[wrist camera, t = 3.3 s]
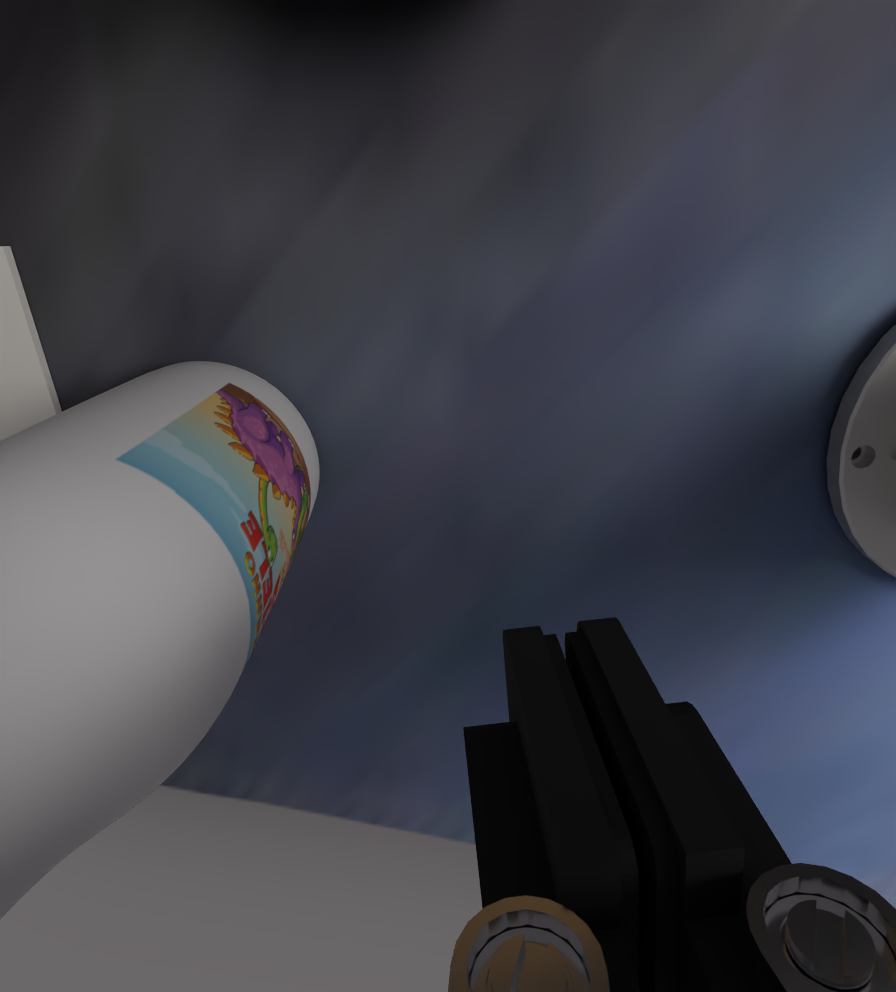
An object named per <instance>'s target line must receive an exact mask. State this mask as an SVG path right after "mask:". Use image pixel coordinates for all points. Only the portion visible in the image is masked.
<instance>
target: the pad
mask: <svg viewBox="0 0 896 992" xmlns="http://www.w3.org/2000/svg"><path fill="white" fill-rule="evenodd" d="M60 412H62V410H61V407H60V404H59V400H58V397H57V394H56V391H55V388H54V384H53V381H52V378H51V375H50V372H49V368H48V365H47V362H46V359H45V356H44V353H43V349H42V346H41V343H40V340H39V337H38V333H37V330H36V327H35V324H34V321H33V317H32V314H31V311H30V308H29V305H28V302H27V298H26V295H25V292H24V289H23V286H22V282H21V279H20V276H19V273H18V270H17V266H16V263H15V260H14V257H13V254H12V251H11V247H10V246H2V247H0V441H2V440H4V439H6V438H8V437H10V436H12V435H14V434H16V433H18V432H21V431H23V430H25V429H27V428H29V427H31V426H33V425H35V424H37V423H39V422H42V421H44V420H46V419H48V418H50V417H52V416H54V415H56V414H58V413H60Z"/></svg>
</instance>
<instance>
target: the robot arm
mask: <svg viewBox="0 0 896 992" xmlns="http://www.w3.org/2000/svg"><path fill="white" fill-rule="evenodd" d="M827 484H828V492H829V495H830V499H831V503H832V507H833V510H834V514H835V516H836V518H837V520H838V522H839V524H840V526H841V527H842V529H843V531H844V533H845V535H846V537H847V538H848V539H849V540H850V541H851V542H852V543H853V544H854V546H855V547H856V548H857V549H858V550H859V551H860V552H861V553H862V554H863V555H864V556H865V557H866V558H868V559H869V560H871V561H872V562H873V563H875V564H876V565H878V566H879V567H880V568H882V569H883V570H884V571H886V572H887V573H889V574H891V575H893V576H894V577H896V324H895V325H894V326H893V327H892V328H891V329H890V330H889V331H888V332H887V333H886V334H885V335H884V336H883V337H882V338H881V339H880V341H879V342H878V343H877V345H876V346H875V347H874V348H873V350H872V351H871V352H870V354H869V355H868V356H867V357H866V359H865V360H864V361H863V363H862V364H861V365H860V367H859V368H858V370H857V372H856V374H855V376H854V378H853V379H852V381H851V383H850V385H849V387H848V388H847V390H846V392H845V394H844V396H843V398H842V401H841V403H840V406H839V409H838V412H837V415H836V418H835V420H834V423H833V426H832V429H831V435H830V441H829V448H828V454H827ZM503 646H504V658H505V671H506V683H507V696H508V708H509V721H510V722H505V723H497V724H488V725H479V726H470V727H463V729H464V739H465V748H466V758H467V767H468V776H469V786H470V795H471V804H472V814H473V823H474V832H475V842H476V851H477V860H478V870H479V879H480V889H481V897H482V907H483V909H482V910H481V911H480V912H479V913H478V914H477V915H476V916H474V917H473V918H472V919H471V920H470V921H469V922H468V923H467V925H466V926H465V928H464V930H463V931H462V933H461V935H460V936H459V938H458V940H457V941H456V945H455V949H454V954H453V957H452V961H451V966H450V977H449V989H448V992H896V909H895V908H894V907H893V906H892V905H891V904H890V903H888V902H887V901H886V900H885V899H884V898H883V897H882V896H881V895H880V894H878V893H877V892H876V891H875V890H873V889H871V888H870V887H868V886H866V885H865V884H863V883H862V882H860V881H858V880H857V879H855V878H853V877H852V876H849V875H847V874H844V873H841V872H839V871H836V870H833V869H831V868H828V867H825V866H818V865H811V864H805V863H796V864H792V863H791V862H790V860H789V858H788V857H787V855H786V854H785V852H784V850H783V849H782V847H781V845H780V844H779V842H778V841H777V839H776V837H775V836H774V834H773V832H772V831H771V829H770V828H769V826H768V824H767V823H766V821H765V820H764V818H763V816H762V815H761V813H760V811H759V810H758V808H757V807H756V805H755V803H754V802H753V800H752V798H751V797H750V795H749V794H748V792H747V790H746V789H745V787H744V786H743V784H742V782H741V781H740V779H739V777H738V776H737V774H736V773H735V771H734V769H733V768H732V766H731V764H730V763H729V761H728V760H727V758H726V756H725V755H724V753H723V752H722V750H721V748H720V747H719V745H718V743H717V742H716V740H715V739H714V737H713V735H712V734H711V732H710V730H709V729H708V727H707V726H706V724H705V722H704V721H703V719H702V718H701V716H700V714H699V713H698V711H697V710H696V709H695V707H694V706H693V705H692V704H690V703H689V702H679V703H670V704H665V703H664V701H663V699H662V697H661V695H660V694H659V692H658V690H657V688H656V686H655V685H654V683H653V681H652V679H651V677H650V676H649V674H648V672H647V670H646V668H645V667H644V665H643V663H642V661H641V660H640V658H639V656H638V654H637V652H636V651H635V649H634V647H633V645H632V643H631V642H630V640H629V638H628V636H627V634H626V633H625V631H624V629H623V627H622V625H621V624H620V622H619V620H618V619H617V618H615V617H614V618H605V619H596V620H587V621H579V622H578V624H577V632H569V633H566V634H565V655H566V660H565V658H564V655H563V652H562V650H561V647H560V644H559V641H558V639H557V636H556V635H555V634H552V635H543V633H542V630H541V628H540V626H534V627H525V628H516V629H508V630H503Z"/></svg>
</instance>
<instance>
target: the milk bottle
mask: <svg viewBox="0 0 896 992" xmlns="http://www.w3.org/2000/svg"><path fill="white" fill-rule="evenodd" d="M319 470H320V469H319V459H318V454H317V449H316V446H315V443H314V439H313V437H312V435H311V432H310V430H309V428H308V426H307V424H306V422H305V421H304V419H303V417H302V416H301V414H300V413H299V411H298V410H297V409H296V408H295V407H294V405H293V404H292V403H291V402H290V401H289V400H288V399H287V398H286V397H285V396H284V395H283V394H282V393H281V392H280V391H279V390H278V389H276V388H275V387H274V386H272V385H271V384H270V383H268V382H267V381H265V380H263V379H262V378H260V377H258V376H257V375H255V374H252V373H250V372H248V371H246V370H243V369H241V368H238V367H235V366H231V365H227V364H223V363H217V362H209V361H189V362H182V363H176V364H172V365H168V366H165V367H163V368H160V369H157V370H154V371H151V372H149V373H146V374H144V375H142V376H139V377H137V378H135V379H133V380H130V381H128V382H126V383H124V384H121V385H119V386H117V387H115V388H113V389H110V390H108V391H106V392H104V393H102V394H100V395H97V396H95V397H93V398H91V399H89V400H86V401H84V402H82V403H80V404H78V405H75V406H73V407H71V408H69V409H67V410H65V411H63V412H60V413H58V414H56V415H54V416H52V417H50V418H48V419H46V420H44V421H42V422H39V423H37V424H35V425H33V426H31V427H29V428H27V429H25V430H23V431H21V432H18V433H16V434H14V435H12V436H10V437H8V438H6V439H4V440H2V441H0V919H1V918H2V917H3V915H5V914H6V913H7V911H9V909H10V908H11V907H12V906H13V905H14V904H15V903H16V902H17V901H18V900H19V899H20V898H21V897H22V896H23V895H24V894H25V893H26V892H27V891H28V890H29V889H31V888H32V887H33V886H34V885H35V884H36V883H37V882H38V881H39V880H40V879H41V878H42V877H43V876H44V875H45V874H47V873H48V872H49V871H50V870H51V869H52V868H53V867H54V866H55V865H56V864H58V863H59V862H60V861H61V860H62V859H64V858H65V857H66V856H67V855H68V854H70V853H71V852H72V851H74V850H75V849H76V848H78V847H79V846H80V845H82V844H83V843H84V842H86V841H87V840H89V839H90V838H91V837H93V836H94V835H96V834H97V833H98V832H99V831H101V830H103V829H104V828H105V827H107V826H108V825H110V824H111V823H113V822H114V821H115V820H117V819H118V818H120V817H121V816H122V815H124V814H125V813H126V812H128V811H129V810H130V809H131V808H133V807H134V806H135V805H136V804H138V803H139V802H141V801H142V800H143V799H144V798H146V797H147V796H148V795H149V794H151V793H152V792H153V791H154V790H155V789H156V788H157V787H158V786H160V785H161V784H162V783H163V782H164V781H165V780H166V779H167V778H168V777H169V776H170V775H171V774H172V773H173V772H174V771H175V770H176V769H177V768H178V767H179V766H180V765H181V764H182V763H183V762H184V761H185V759H186V758H187V757H188V756H189V755H190V754H191V752H192V751H193V750H194V749H195V748H196V746H197V745H198V744H199V743H200V741H201V740H202V739H203V738H204V736H205V735H206V734H207V732H208V731H209V729H210V728H211V726H212V725H213V723H214V722H215V720H216V719H217V717H218V716H219V714H220V713H221V711H222V710H223V708H224V706H225V705H226V703H227V701H228V700H229V698H230V696H231V694H232V692H233V690H234V688H235V686H236V684H237V682H238V680H239V678H240V676H241V674H242V672H243V670H244V668H245V666H246V664H247V662H248V660H249V658H250V656H251V654H252V652H253V650H254V648H255V645H256V643H257V641H258V639H259V636H260V634H261V632H262V629H263V627H264V625H265V623H266V620H267V618H268V616H269V613H270V611H271V609H272V606H273V604H274V602H275V600H276V597H277V595H278V593H279V590H280V588H281V586H282V583H283V581H284V579H285V576H286V574H287V571H288V569H289V567H290V564H291V562H292V559H293V557H294V555H295V552H296V550H297V547H298V545H299V543H300V540H301V538H302V535H303V533H304V530H305V528H306V525H307V523H308V520H309V518H310V515H311V512H312V509H313V506H314V503H315V500H316V497H317V492H318V487H319Z"/></svg>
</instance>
